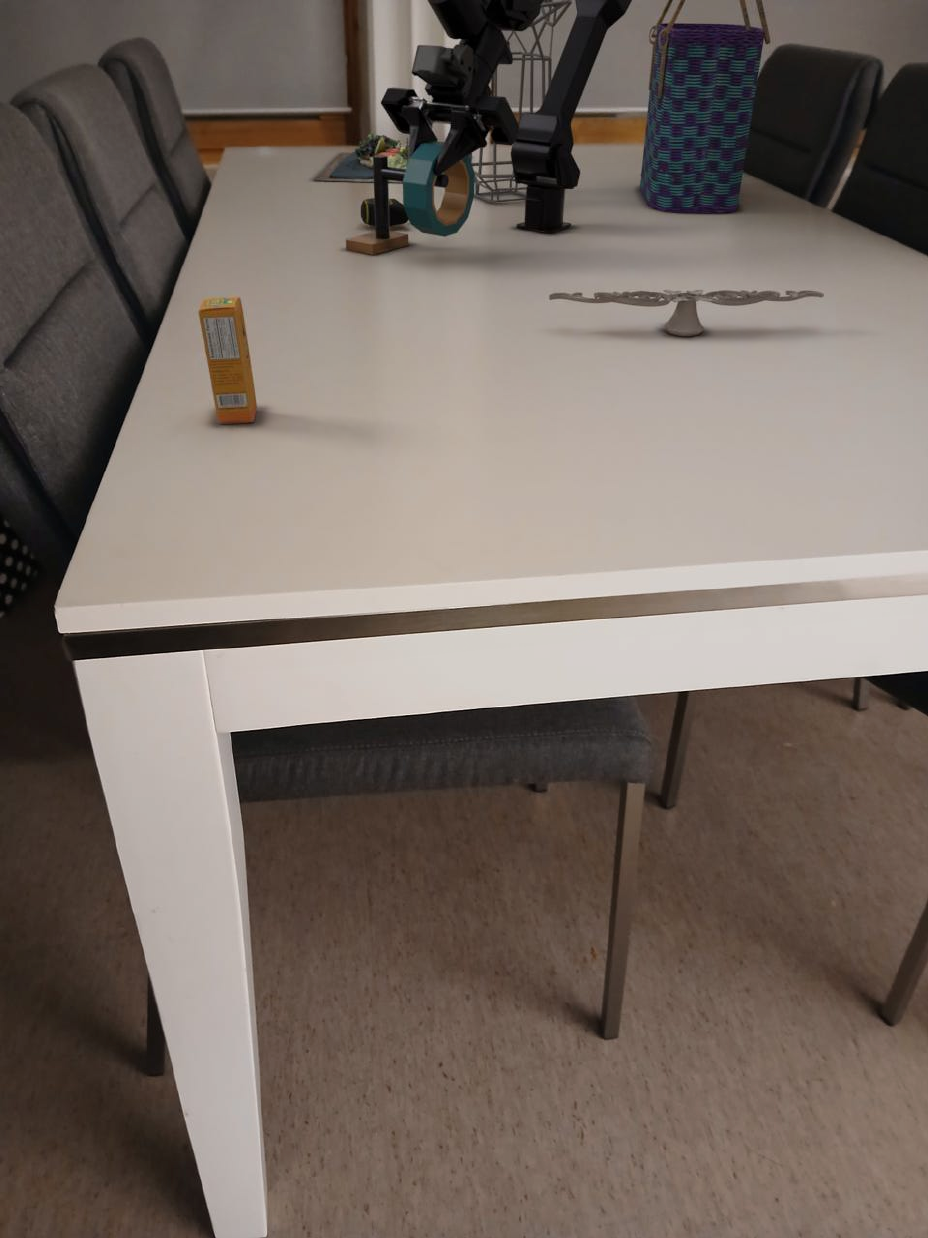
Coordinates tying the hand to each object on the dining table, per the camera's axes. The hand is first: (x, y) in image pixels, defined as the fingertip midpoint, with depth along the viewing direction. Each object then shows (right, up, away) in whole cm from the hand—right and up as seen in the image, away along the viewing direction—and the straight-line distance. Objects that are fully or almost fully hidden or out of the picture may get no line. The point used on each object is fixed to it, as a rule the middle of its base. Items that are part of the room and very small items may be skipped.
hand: (422, 171), depth 124 cm
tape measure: (-7, +4, +26) cm, 27 cm away
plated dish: (-8, +34, +72) cm, 80 cm away
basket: (+45, +17, +48) cm, 68 cm away
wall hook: (+30, -26, -17) cm, 43 cm away
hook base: (-7, -4, +14) cm, 16 cm away
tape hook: (-2, -6, +11) cm, 13 cm away
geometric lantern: (+12, +16, +46) cm, 50 cm away
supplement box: (-15, -40, -39) cm, 58 cm away
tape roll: (+2, -5, +7) cm, 9 cm away
